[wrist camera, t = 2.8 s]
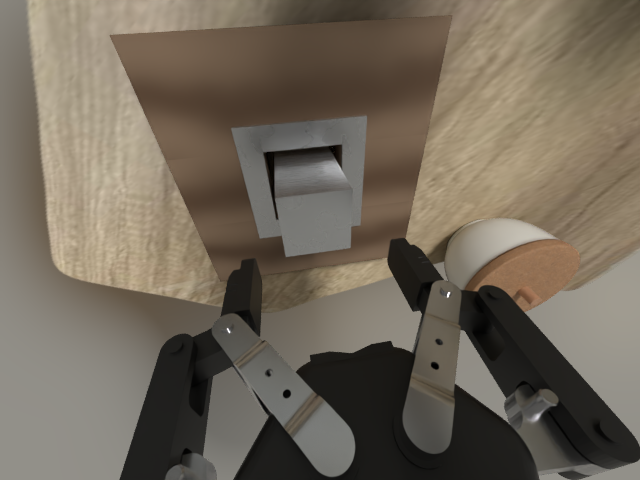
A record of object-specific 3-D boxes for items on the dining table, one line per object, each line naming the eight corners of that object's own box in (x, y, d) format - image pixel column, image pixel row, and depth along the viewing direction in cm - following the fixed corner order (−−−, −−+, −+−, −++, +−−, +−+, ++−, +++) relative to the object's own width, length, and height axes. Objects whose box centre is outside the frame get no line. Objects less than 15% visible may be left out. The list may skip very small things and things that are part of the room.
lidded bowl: (521, 184, 30) (619, 238, 22) (512, 251, 38) (582, 311, 29) (422, 226, 32) (477, 291, 23) (433, 282, 40) (477, 346, 31)
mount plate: (132, 37, 17) (105, 34, 14) (430, 19, 19) (455, 14, 16) (224, 263, 31) (220, 284, 28) (392, 240, 33) (403, 257, 30)
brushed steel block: (274, 147, 23) (274, 198, 15) (326, 142, 24) (352, 189, 16) (282, 195, 26) (285, 257, 18) (327, 189, 27) (350, 248, 19)
